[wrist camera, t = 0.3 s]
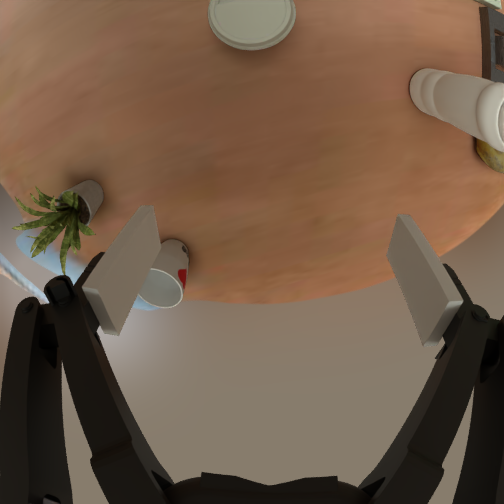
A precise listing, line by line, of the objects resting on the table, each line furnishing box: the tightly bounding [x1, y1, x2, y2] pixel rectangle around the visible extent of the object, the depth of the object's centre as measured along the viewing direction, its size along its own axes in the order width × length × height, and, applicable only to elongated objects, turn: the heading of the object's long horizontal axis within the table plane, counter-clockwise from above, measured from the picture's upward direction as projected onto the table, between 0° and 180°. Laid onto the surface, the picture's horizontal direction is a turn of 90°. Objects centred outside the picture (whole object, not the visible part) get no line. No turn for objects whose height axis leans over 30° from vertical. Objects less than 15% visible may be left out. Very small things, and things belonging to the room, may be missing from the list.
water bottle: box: [410, 68, 504, 152], centre depth 22 cm, size 7×7×25 cm
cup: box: [138, 239, 189, 308], centre depth 48 cm, size 8×8×10 cm
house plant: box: [12, 180, 104, 275], centre depth 38 cm, size 14×14×16 cm
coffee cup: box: [208, 0, 296, 50], centre depth 25 cm, size 8×9×12 cm
